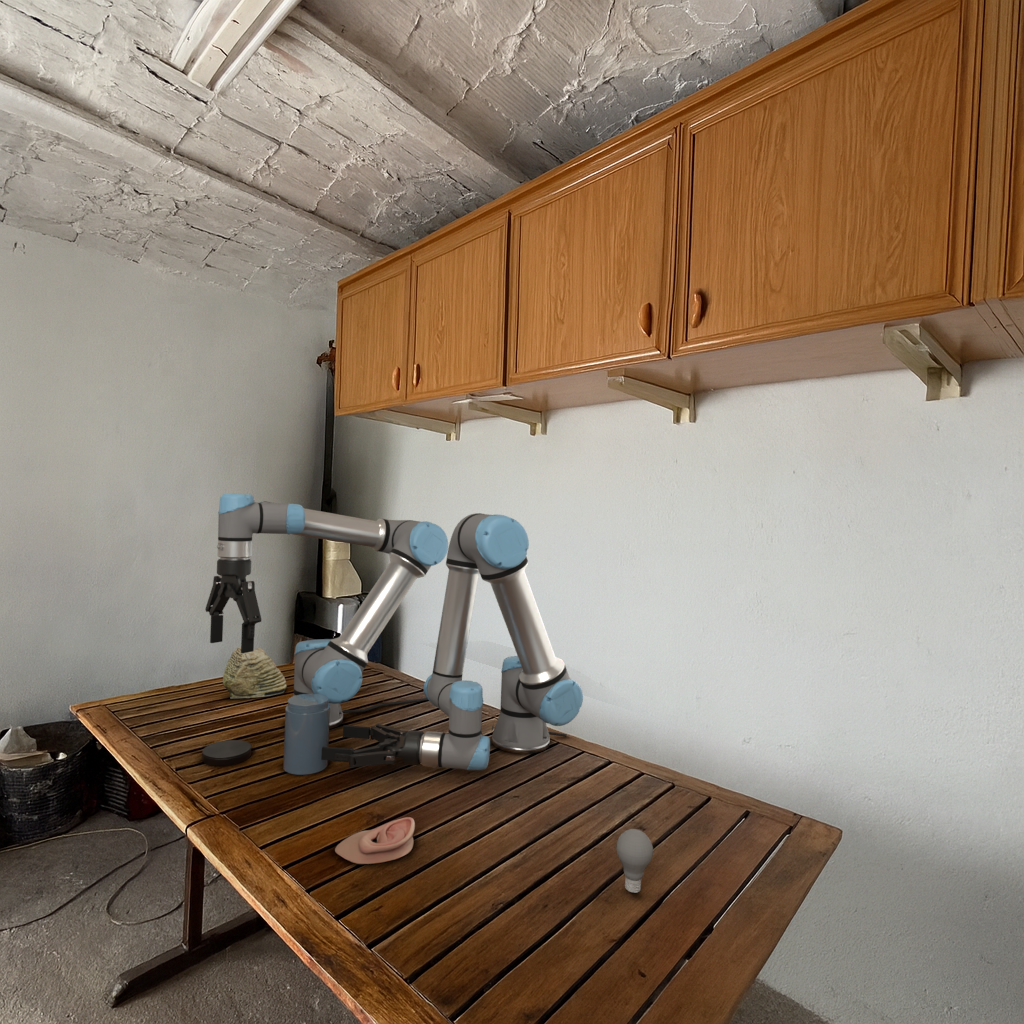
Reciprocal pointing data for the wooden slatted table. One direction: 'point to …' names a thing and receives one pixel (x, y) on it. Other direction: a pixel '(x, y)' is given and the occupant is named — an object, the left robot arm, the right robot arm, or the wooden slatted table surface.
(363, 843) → the anatomical model
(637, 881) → the light bulb
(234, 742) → the lid
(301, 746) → the jar
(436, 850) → the wooden slatted table surface
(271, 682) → the fossil
